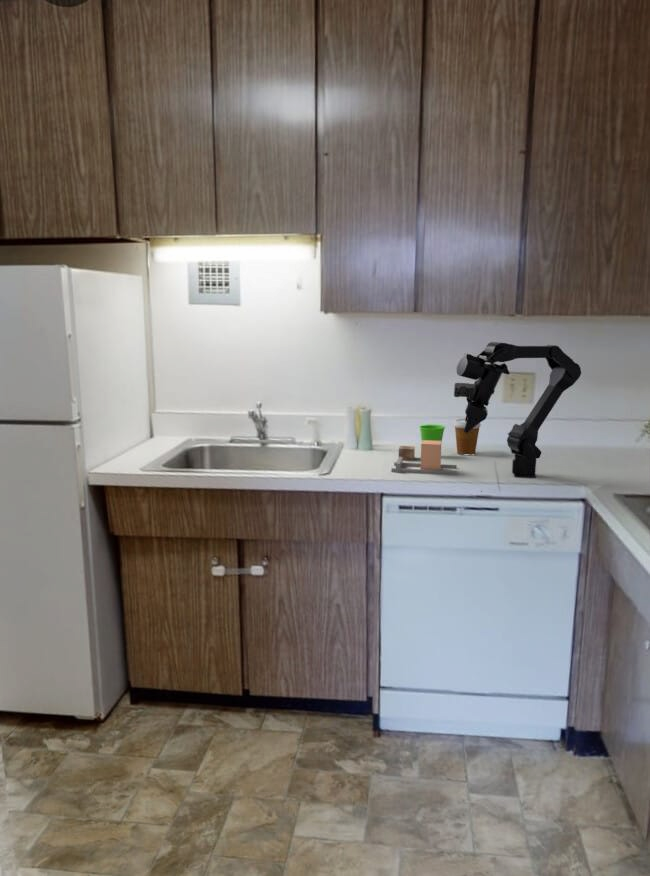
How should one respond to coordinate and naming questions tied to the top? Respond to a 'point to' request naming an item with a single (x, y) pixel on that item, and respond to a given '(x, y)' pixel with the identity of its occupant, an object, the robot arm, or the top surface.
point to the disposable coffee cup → (466, 437)
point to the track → (400, 464)
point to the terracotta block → (430, 455)
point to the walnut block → (407, 452)
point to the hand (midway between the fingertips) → (465, 426)
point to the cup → (432, 432)
